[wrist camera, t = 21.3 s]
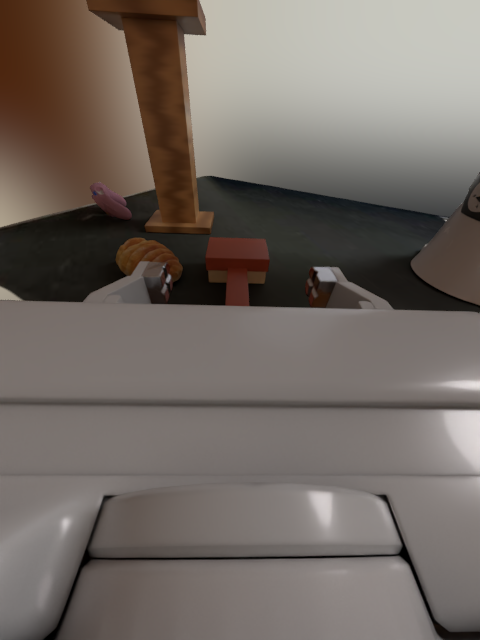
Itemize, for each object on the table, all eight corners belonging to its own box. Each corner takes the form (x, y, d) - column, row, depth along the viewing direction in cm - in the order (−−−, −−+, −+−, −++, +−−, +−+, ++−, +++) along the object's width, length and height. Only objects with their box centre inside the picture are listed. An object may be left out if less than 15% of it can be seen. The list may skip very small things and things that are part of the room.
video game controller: (111, 214, 51) (84, 184, 46) (127, 203, 51) (102, 171, 46) (116, 230, 45) (85, 198, 40) (134, 217, 45) (105, 183, 40)
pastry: (196, 274, 32) (193, 248, 29) (158, 297, 28) (150, 270, 25) (152, 254, 35) (146, 230, 33) (113, 272, 31) (103, 246, 29)
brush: (262, 262, 35) (265, 239, 32) (275, 344, 23) (282, 317, 20) (211, 261, 34) (209, 237, 32) (197, 343, 22) (192, 315, 20)
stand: (214, 217, 48) (205, 17, 30) (210, 234, 42) (196, -7, 24) (157, 215, 48) (115, 12, 30) (145, 232, 41) (82, -14, 23)
